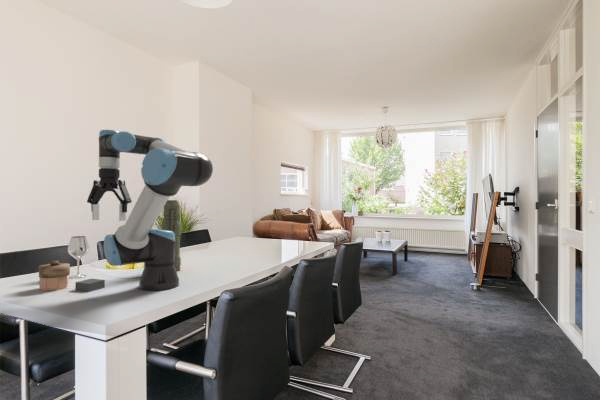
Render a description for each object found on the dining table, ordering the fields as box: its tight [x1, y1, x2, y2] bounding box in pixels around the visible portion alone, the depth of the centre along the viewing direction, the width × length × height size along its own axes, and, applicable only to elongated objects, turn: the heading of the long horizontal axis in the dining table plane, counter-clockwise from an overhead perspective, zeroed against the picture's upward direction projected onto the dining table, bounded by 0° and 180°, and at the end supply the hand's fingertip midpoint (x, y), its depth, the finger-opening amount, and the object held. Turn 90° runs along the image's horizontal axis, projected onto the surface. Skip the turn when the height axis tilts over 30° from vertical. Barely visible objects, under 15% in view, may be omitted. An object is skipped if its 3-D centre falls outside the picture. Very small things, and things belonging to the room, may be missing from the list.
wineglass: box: [67, 235, 90, 279], centre depth 161 cm, size 8×8×18 cm
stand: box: [74, 278, 106, 293], centre depth 140 cm, size 7×7×3 cm
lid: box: [38, 260, 71, 279], centre depth 140 cm, size 10×10×6 cm
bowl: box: [39, 275, 69, 292], centre depth 140 cm, size 9×9×5 cm
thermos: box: [161, 199, 182, 273], centre depth 177 cm, size 9×12×35 cm
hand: (108, 220), depth 145 cm, fingers open, 13 cm apart
